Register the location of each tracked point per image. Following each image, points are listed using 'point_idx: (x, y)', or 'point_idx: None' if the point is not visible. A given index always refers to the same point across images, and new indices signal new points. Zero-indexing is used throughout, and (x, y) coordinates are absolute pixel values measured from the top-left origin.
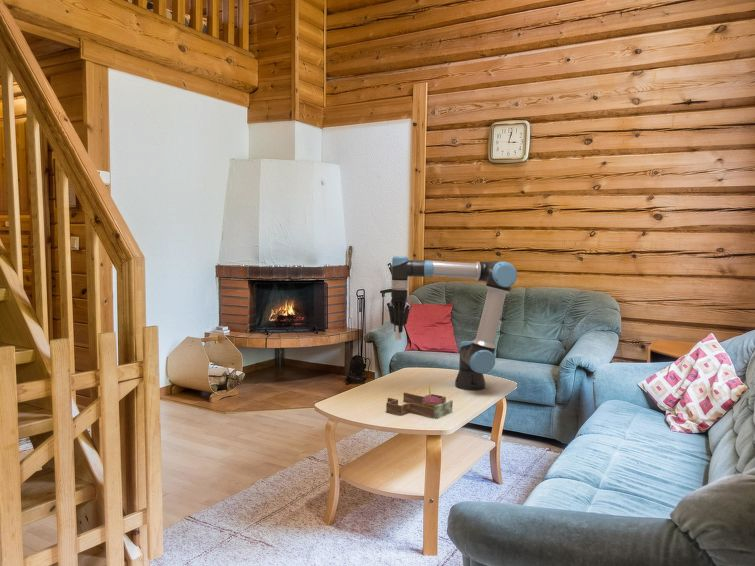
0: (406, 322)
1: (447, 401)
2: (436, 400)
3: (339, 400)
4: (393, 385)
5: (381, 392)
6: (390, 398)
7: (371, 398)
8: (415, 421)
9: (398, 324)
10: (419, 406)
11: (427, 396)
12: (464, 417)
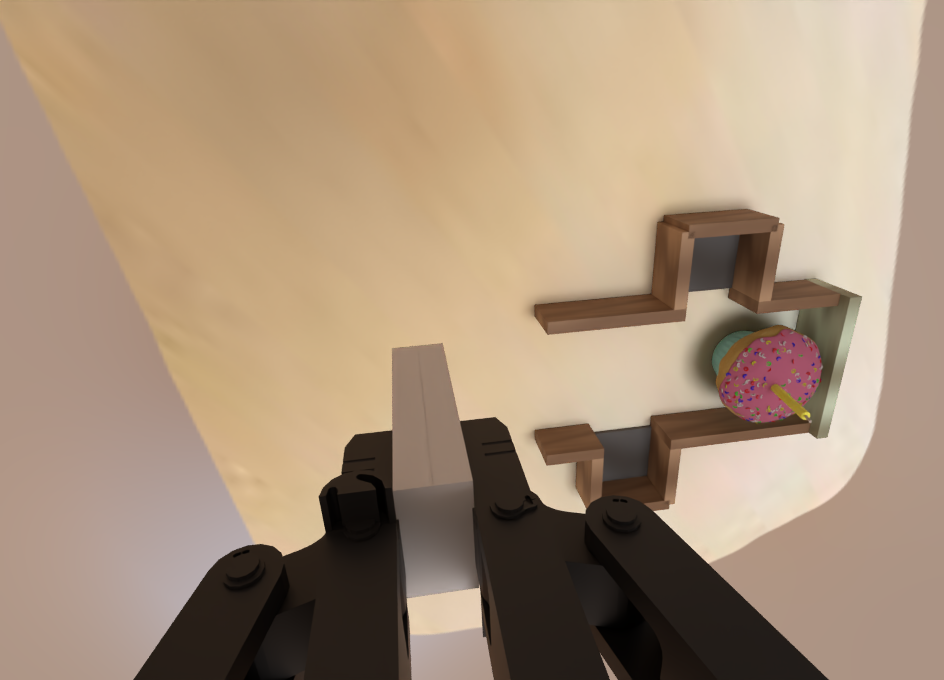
0: (668, 534)
1: (843, 328)
2: (813, 393)
3: (296, 525)
4: (204, 35)
5: (309, 261)
6: (561, 459)
7: (372, 394)
8: (734, 485)
9: (488, 607)
10: (730, 439)
11: (762, 396)
12: (887, 302)
